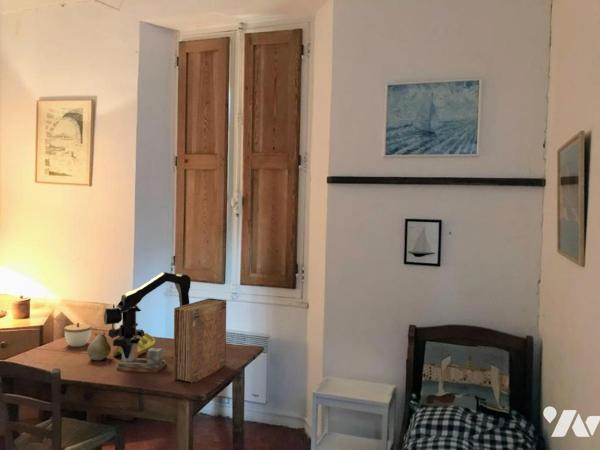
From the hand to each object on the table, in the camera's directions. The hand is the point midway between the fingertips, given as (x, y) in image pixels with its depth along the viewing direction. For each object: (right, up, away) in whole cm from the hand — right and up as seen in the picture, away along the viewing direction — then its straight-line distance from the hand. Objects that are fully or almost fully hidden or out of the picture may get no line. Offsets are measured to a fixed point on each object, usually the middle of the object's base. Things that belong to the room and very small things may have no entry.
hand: (129, 356), depth 233 cm
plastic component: (-3, -4, +20) cm, 21 cm away
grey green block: (0, -1, 0) cm, 1 cm away
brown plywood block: (+33, -6, -7) cm, 34 cm away
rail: (+6, -4, -1) cm, 7 cm away
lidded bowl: (-36, -2, +32) cm, 48 cm away
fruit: (-17, -4, +9) cm, 20 cm away
